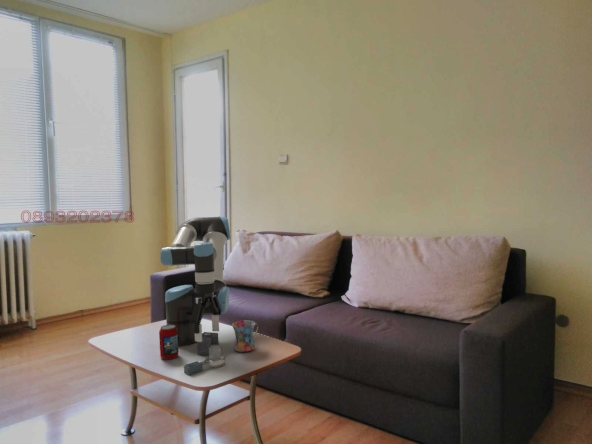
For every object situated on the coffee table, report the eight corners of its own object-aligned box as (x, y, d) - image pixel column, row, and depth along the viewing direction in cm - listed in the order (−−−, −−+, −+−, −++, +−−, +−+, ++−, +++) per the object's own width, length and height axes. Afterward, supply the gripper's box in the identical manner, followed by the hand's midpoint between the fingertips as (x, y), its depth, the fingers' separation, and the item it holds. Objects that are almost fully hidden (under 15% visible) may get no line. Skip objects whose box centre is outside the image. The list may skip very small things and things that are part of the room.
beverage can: (168, 361, 168) (167, 330, 168) (156, 358, 172) (155, 327, 171) (182, 355, 174) (180, 325, 173) (170, 353, 178) (168, 323, 177)
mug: (242, 355, 172) (241, 328, 172) (228, 350, 179) (227, 324, 178) (266, 347, 181) (265, 321, 180) (251, 342, 187) (251, 317, 187)
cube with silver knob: (197, 354, 175) (196, 335, 174) (205, 349, 180) (204, 331, 180) (211, 355, 173) (210, 336, 172) (218, 350, 179) (218, 331, 178)
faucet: (182, 371, 158) (181, 351, 158) (218, 359, 169) (217, 340, 168) (191, 376, 153) (190, 356, 153) (228, 364, 163) (227, 345, 163)
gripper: (212, 276, 188) (214, 326, 189) (179, 288, 164) (181, 345, 165) (228, 277, 186) (230, 327, 186) (197, 288, 162) (199, 346, 163)
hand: (207, 336), depth 176 cm, fingers open, 13 cm apart
